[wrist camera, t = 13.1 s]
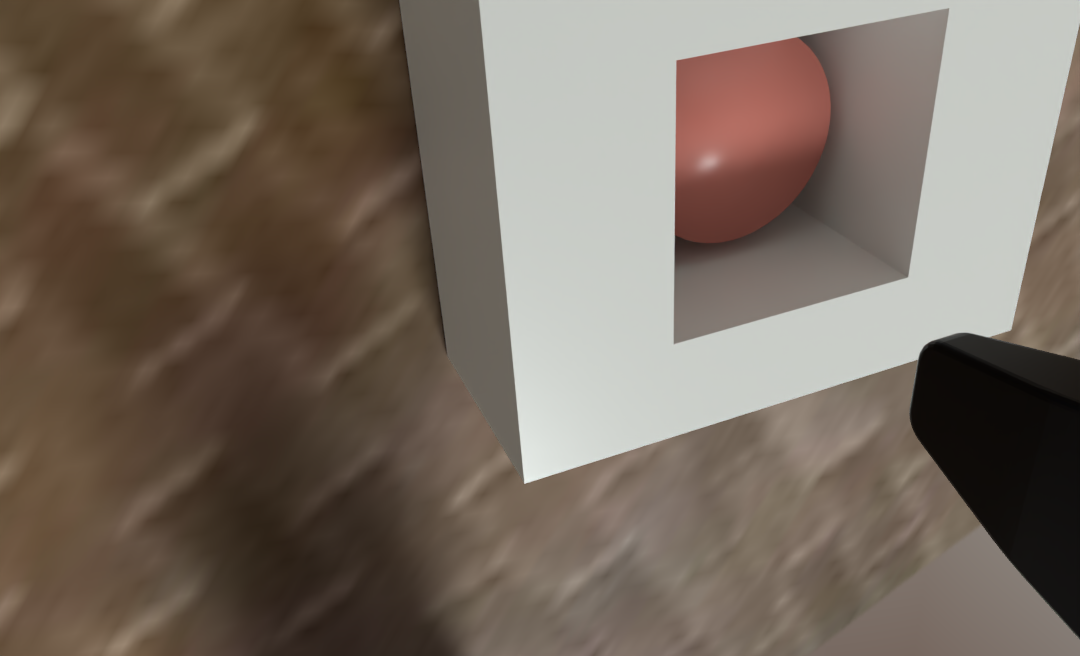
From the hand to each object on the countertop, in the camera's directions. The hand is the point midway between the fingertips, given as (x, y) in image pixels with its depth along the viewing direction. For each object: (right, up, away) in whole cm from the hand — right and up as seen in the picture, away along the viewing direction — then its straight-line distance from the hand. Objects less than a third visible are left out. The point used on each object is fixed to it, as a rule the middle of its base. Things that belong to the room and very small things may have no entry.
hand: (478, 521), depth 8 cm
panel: (+4, +7, +14) cm, 16 cm away
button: (+4, +6, +14) cm, 16 cm away
